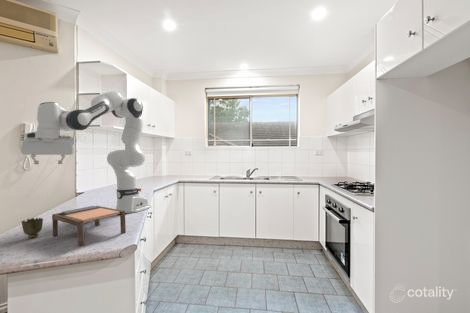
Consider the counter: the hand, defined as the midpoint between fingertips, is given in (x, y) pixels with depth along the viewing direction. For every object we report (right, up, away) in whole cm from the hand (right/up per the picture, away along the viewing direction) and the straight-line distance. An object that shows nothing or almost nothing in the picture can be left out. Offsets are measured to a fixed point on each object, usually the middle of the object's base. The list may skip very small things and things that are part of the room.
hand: (48, 164), depth 120 cm
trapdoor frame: (+23, -32, -6) cm, 40 cm away
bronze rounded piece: (-1, -33, -8) cm, 34 cm away
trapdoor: (+24, -24, -6) cm, 34 cm away
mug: (+7, -32, +13) cm, 35 cm away
